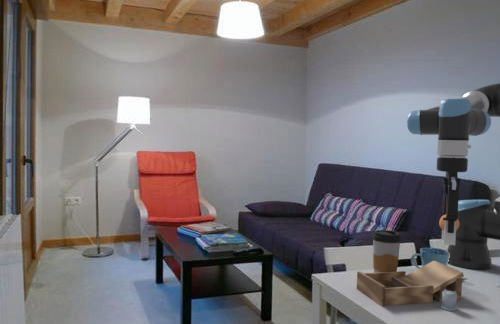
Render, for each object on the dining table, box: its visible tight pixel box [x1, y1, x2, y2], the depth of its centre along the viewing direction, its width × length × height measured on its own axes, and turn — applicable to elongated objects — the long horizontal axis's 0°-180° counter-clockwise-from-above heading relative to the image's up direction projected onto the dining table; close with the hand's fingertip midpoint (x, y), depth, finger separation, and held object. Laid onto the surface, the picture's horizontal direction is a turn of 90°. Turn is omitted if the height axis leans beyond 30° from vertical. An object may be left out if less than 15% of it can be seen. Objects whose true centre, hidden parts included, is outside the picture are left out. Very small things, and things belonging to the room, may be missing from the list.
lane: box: [356, 260, 465, 307], centre depth 122 cm, size 26×13×8 cm, turn 104°
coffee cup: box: [372, 229, 402, 273], centre depth 133 cm, size 8×8×15 cm
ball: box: [438, 214, 459, 231], centre depth 118 cm, size 5×5×5 cm
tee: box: [440, 290, 458, 312], centre depth 113 cm, size 4×4×4 cm
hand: (448, 241), depth 118 cm, fingers closed on ball, 5 cm apart
